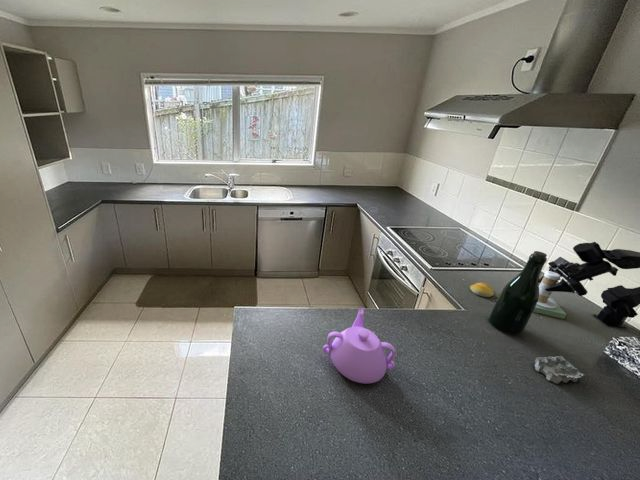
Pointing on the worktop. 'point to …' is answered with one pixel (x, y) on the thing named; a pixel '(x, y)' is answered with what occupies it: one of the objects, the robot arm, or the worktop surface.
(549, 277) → the sprinkles bottle
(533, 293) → the beer bottle
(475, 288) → the bread roll
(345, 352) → the teapot
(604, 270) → the robot arm
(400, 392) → the worktop surface
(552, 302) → the scale
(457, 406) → the worktop surface
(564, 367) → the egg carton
